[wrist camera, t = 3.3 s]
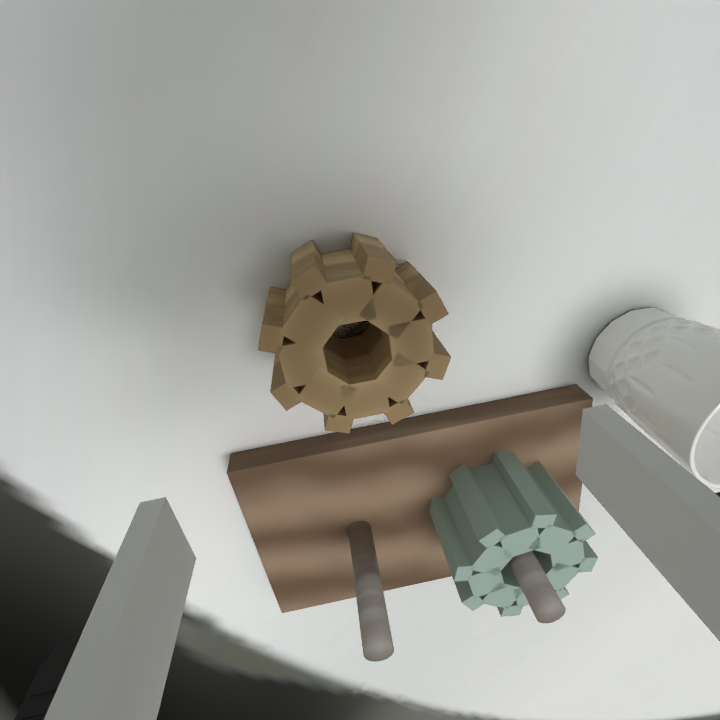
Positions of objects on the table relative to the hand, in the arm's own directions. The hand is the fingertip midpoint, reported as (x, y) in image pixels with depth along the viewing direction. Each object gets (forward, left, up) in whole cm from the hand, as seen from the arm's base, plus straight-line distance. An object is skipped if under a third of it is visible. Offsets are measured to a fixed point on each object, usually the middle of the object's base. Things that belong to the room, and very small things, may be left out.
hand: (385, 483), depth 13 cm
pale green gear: (+17, +9, -13) cm, 23 cm away
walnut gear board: (+17, +3, -15) cm, 23 cm away
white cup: (+7, +20, -15) cm, 26 cm away
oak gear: (0, 0, -15) cm, 15 cm away
